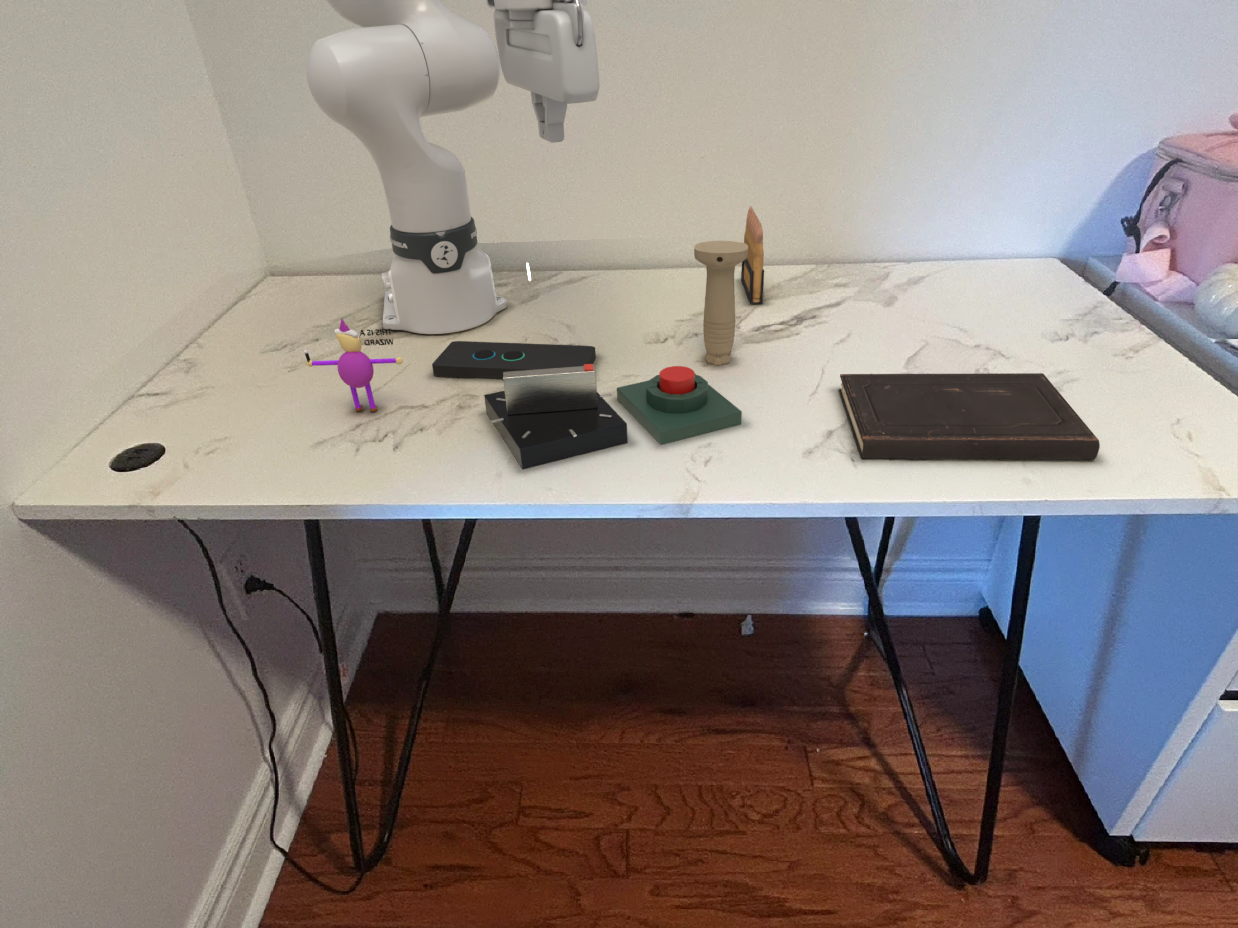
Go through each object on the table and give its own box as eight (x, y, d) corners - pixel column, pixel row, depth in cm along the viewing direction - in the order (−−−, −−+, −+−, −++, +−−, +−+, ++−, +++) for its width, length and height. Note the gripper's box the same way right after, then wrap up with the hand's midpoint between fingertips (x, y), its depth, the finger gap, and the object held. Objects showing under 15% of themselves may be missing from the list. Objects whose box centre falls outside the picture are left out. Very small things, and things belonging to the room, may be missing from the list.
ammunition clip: (762, 304, 123) (767, 223, 117) (750, 304, 124) (754, 224, 117) (752, 280, 133) (756, 204, 126) (740, 280, 133) (744, 205, 126)
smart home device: (452, 339, 112) (596, 344, 109) (454, 350, 113) (596, 356, 110) (429, 364, 105) (582, 371, 102) (431, 377, 106) (583, 383, 103)
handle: (742, 370, 104) (747, 253, 96) (691, 368, 105) (692, 252, 97) (744, 354, 108) (748, 241, 100) (695, 352, 109) (696, 240, 102)
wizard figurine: (414, 405, 100) (396, 311, 93) (408, 418, 97) (389, 321, 90) (323, 407, 100) (298, 314, 94) (314, 420, 97) (288, 324, 91)
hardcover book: (838, 391, 98) (840, 373, 97) (1039, 390, 96) (1043, 372, 95) (861, 461, 85) (863, 441, 84) (1095, 462, 83) (1101, 442, 82)
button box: (617, 400, 99) (615, 373, 97) (691, 383, 102) (691, 356, 100) (660, 445, 89) (660, 417, 87) (741, 424, 92) (742, 396, 90)
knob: (507, 414, 91) (502, 375, 89) (507, 408, 92) (503, 369, 90) (597, 407, 92) (595, 369, 89) (596, 401, 93) (594, 362, 90)
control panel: (477, 415, 97) (474, 395, 95) (589, 390, 101) (588, 370, 100) (512, 473, 85) (510, 451, 84) (637, 441, 90) (636, 420, 89)
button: (653, 384, 95) (653, 370, 94) (684, 377, 96) (684, 363, 95) (669, 398, 92) (668, 383, 91) (700, 391, 93) (701, 376, 92)
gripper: (612, -14, 72) (619, 153, 79) (538, -16, 88) (549, 123, 95) (543, -10, 70) (556, 161, 77) (480, -13, 86) (496, 129, 93)
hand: (552, 140), depth 86 cm, fingers closed
